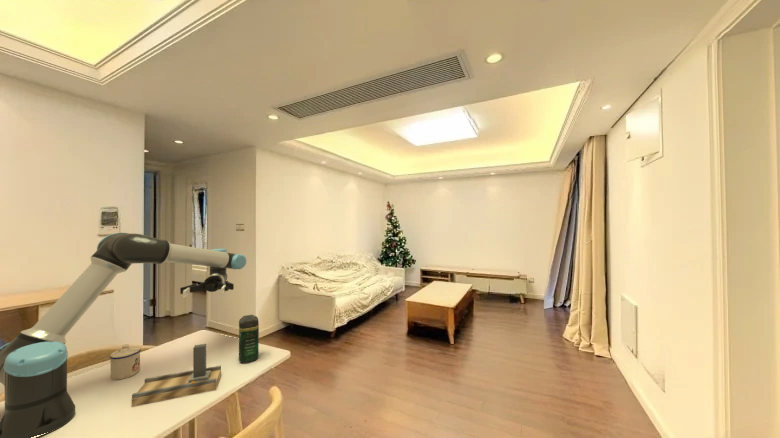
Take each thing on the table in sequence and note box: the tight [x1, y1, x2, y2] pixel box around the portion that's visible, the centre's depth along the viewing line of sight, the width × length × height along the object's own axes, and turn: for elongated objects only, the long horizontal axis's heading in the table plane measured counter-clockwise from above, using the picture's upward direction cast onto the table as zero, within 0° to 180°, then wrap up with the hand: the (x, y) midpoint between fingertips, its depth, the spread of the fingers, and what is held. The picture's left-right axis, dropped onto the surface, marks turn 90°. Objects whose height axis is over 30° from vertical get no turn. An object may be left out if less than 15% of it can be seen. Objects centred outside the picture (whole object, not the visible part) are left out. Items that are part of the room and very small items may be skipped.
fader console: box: [131, 365, 222, 407], centre depth 102 cm, size 24×11×4 cm, turn 112°
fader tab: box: [188, 343, 211, 383], centre depth 105 cm, size 6×5×12 cm
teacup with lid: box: [109, 343, 142, 381], centre depth 114 cm, size 12×9×12 cm
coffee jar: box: [238, 314, 260, 364], centre depth 125 cm, size 10×8×19 cm
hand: (203, 292), depth 118 cm, fingers open, 13 cm apart
